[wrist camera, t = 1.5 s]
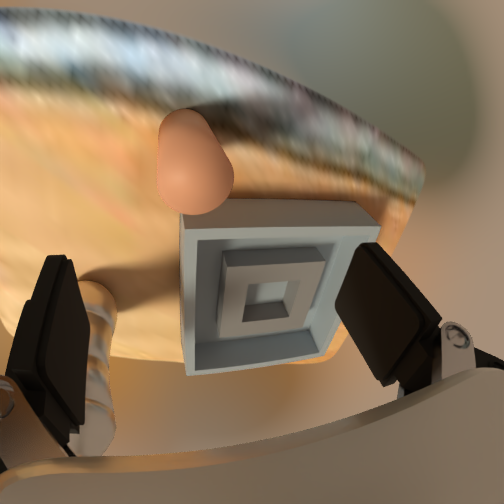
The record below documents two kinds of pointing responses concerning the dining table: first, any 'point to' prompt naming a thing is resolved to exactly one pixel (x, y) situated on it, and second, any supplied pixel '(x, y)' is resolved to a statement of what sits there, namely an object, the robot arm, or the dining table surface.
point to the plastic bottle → (97, 373)
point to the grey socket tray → (264, 280)
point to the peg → (191, 164)
